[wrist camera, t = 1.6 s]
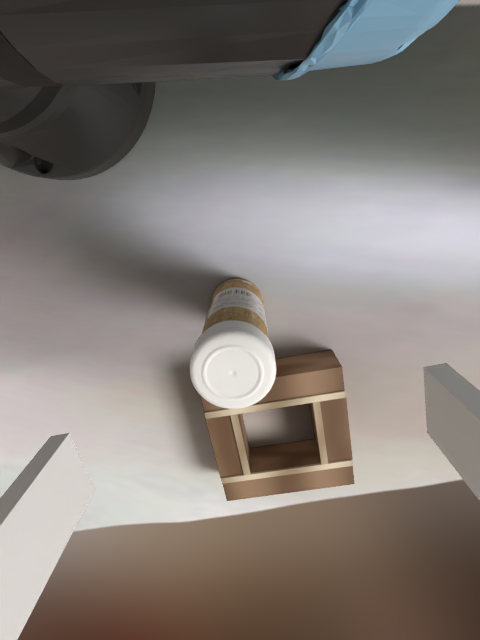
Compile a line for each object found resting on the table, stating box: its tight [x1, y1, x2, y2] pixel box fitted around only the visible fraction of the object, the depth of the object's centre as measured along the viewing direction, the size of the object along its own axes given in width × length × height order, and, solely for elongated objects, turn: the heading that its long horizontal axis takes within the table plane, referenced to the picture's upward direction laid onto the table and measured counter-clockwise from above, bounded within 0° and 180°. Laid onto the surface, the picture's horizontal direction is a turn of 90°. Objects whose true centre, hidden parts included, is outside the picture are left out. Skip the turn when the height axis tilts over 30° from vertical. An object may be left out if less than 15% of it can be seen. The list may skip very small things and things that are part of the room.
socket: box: [200, 350, 354, 501], centre depth 32 cm, size 12×12×4 cm
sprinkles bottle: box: [190, 279, 276, 409], centre depth 24 cm, size 5×5×13 cm
